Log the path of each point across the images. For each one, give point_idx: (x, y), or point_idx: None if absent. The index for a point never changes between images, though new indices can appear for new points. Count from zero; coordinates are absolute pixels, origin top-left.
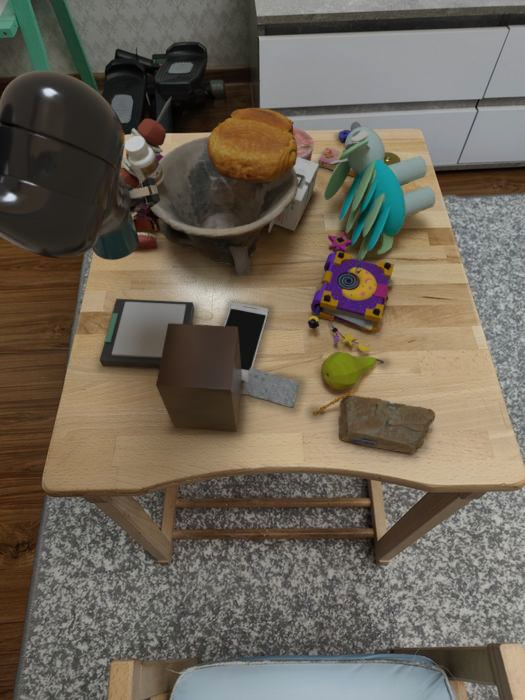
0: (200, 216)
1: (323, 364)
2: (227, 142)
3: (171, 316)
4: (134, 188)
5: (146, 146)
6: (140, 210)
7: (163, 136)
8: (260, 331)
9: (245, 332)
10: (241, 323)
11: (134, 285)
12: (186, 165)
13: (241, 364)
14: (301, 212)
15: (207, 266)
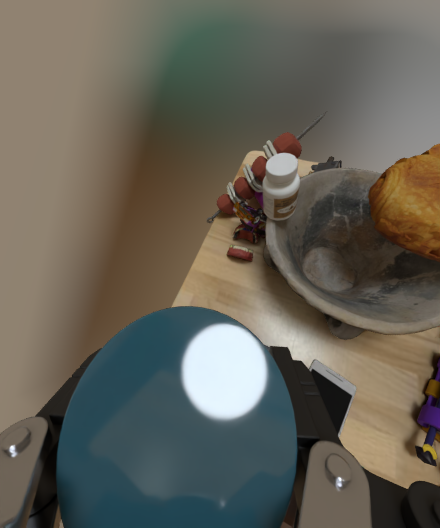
0: (305, 248)
1: None
2: (419, 193)
3: None
4: (369, 492)
5: (296, 171)
6: (248, 226)
7: (297, 156)
8: (342, 419)
9: None
10: (321, 395)
11: (220, 297)
12: (314, 195)
13: None
14: None
15: (295, 300)
